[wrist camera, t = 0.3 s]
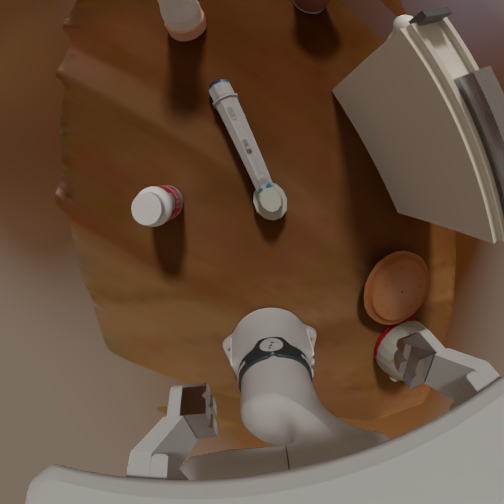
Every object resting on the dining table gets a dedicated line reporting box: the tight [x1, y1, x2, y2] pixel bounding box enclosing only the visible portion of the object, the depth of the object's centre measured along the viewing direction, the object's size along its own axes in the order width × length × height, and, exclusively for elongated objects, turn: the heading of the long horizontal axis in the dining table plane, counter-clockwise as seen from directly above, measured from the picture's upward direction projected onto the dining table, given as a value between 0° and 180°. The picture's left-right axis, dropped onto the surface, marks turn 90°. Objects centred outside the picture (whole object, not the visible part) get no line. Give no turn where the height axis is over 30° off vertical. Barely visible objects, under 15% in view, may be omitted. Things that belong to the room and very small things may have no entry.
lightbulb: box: [387, 15, 414, 40], centre depth 35 cm, size 6×6×11 cm
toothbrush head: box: [208, 79, 287, 221], centre depth 44 cm, size 5×7×25 cm
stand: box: [332, 7, 504, 244], centre depth 32 cm, size 27×9×29 cm, turn 32°
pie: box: [364, 250, 429, 325], centre depth 51 cm, size 15×16×5 cm
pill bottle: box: [131, 185, 183, 227], centre depth 43 cm, size 6×6×11 cm
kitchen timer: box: [374, 318, 426, 382], centre depth 50 cm, size 14×14×15 cm
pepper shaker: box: [157, 0, 206, 41], centre depth 30 cm, size 7×7×19 cm
